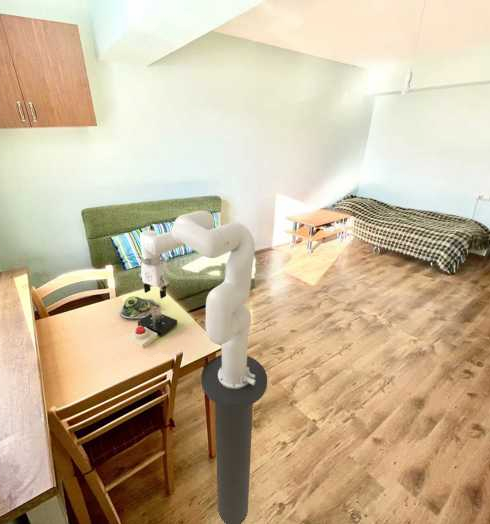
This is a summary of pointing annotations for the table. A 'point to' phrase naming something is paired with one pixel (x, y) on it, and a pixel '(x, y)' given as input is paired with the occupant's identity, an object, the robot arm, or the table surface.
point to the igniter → (142, 337)
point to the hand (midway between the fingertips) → (155, 294)
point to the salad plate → (137, 308)
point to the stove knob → (156, 316)
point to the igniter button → (140, 330)
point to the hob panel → (160, 327)
